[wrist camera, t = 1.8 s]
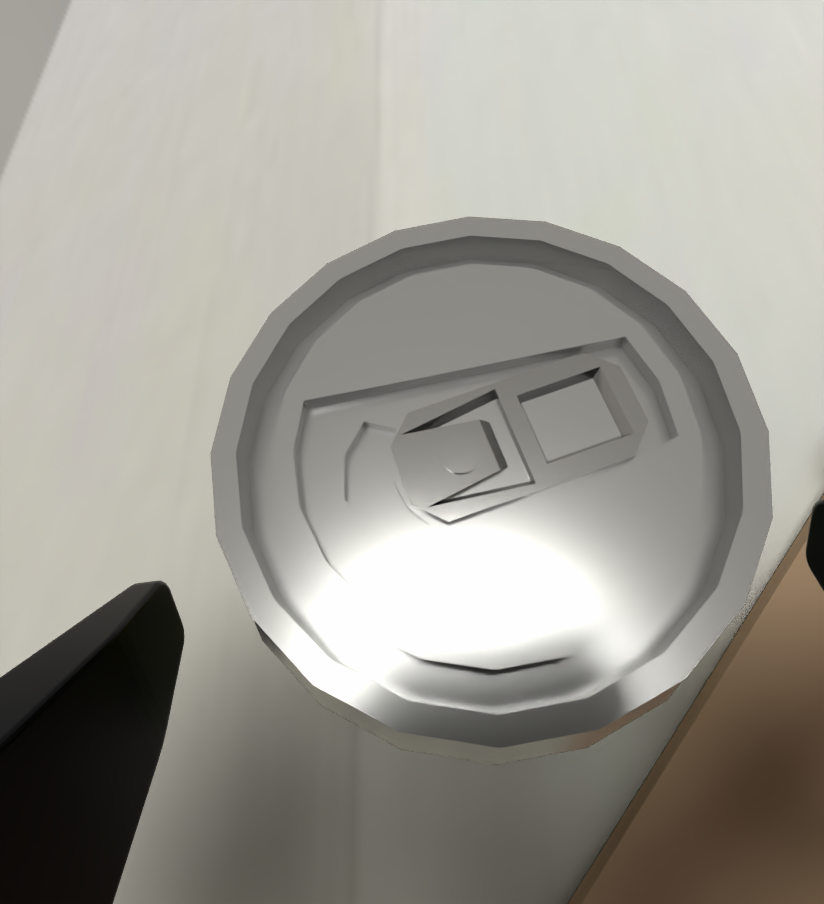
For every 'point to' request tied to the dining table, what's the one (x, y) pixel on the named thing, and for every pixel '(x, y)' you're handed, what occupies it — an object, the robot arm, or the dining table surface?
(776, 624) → the shelf board
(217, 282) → the dining table surface
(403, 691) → the beer can
